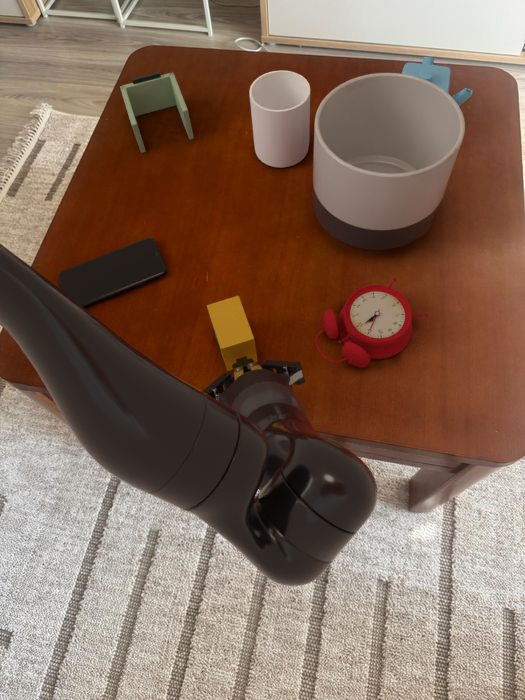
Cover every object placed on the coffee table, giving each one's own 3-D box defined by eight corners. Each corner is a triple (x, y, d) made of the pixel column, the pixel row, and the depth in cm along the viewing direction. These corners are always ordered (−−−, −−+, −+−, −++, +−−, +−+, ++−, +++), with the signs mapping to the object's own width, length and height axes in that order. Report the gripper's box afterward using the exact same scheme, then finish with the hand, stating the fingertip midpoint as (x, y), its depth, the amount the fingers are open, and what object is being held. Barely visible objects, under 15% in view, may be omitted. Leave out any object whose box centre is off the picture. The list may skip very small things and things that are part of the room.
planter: (311, 262, 81) (314, 177, 65) (311, 169, 89) (314, 73, 73) (440, 262, 79) (475, 175, 63) (427, 167, 88) (456, 69, 72)
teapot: (386, 88, 97) (395, 34, 88) (464, 97, 95) (482, 43, 86) (369, 158, 90) (377, 107, 81) (453, 170, 87) (471, 119, 78)
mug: (247, 164, 91) (241, 106, 80) (267, 117, 96) (264, 56, 85) (301, 174, 89) (301, 115, 78) (318, 125, 94) (320, 64, 83)
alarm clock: (439, 319, 71) (353, 362, 65) (421, 344, 76) (340, 387, 70) (390, 266, 75) (306, 303, 69) (377, 294, 80) (297, 330, 74)
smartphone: (70, 314, 79) (169, 275, 81) (68, 311, 78) (168, 271, 80) (58, 275, 82) (153, 238, 84) (55, 272, 82) (152, 234, 84)
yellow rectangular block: (258, 361, 74) (254, 338, 67) (226, 372, 73) (219, 349, 67) (242, 318, 77) (237, 292, 71) (212, 328, 77) (204, 303, 70)
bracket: (194, 138, 94) (186, 105, 88) (141, 153, 93) (130, 121, 87) (180, 101, 99) (172, 67, 93) (129, 114, 98) (118, 82, 92)
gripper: (319, 364, 53) (282, 323, 69) (192, 404, 51) (185, 353, 68) (335, 429, 55) (296, 374, 71) (214, 469, 54) (202, 404, 70)
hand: (242, 364), depth 70 cm, fingers closed
